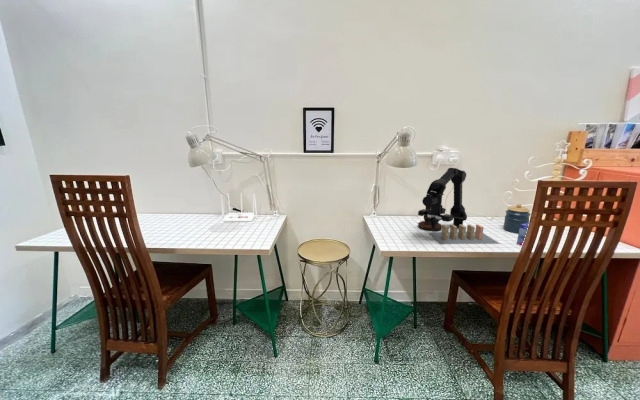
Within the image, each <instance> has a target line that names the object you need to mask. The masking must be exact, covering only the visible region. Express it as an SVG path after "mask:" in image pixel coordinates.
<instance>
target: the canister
mask: <svg viewBox="0 0 640 400" xmlns="http://www.w3.org/2000/svg"><path fill="white" fill-rule="evenodd" d="M505 213H506V214H505V215H504V222H503V225H502V227H503V230H505V231H507V232H509V233H514V234H519V229H520V225H521V224H524V223H529V222H530V220H529V219H530V216H531V215H532V214H531V213H530V209H528V207H525V206H522V204H520V203H517V204H516V205H511V206H509V207H507V210H505Z"/></svg>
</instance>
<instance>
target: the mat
mask: <svg viewBox="0 0 640 400" xmlns="http://www.w3.org/2000/svg"><path fill="white" fill-rule="evenodd" d="M441 232H442V231H441ZM441 232H440V231H436V232H434V231H431V232H430V231H429V232H428V231H427V232H426V233H427V234H428V235H429V236H431V238H432V239H434V240H435V241H436V243H438V244H439V245H501V243H500V242H499V241H497V240H496V239H493V238H492V237H490V236H489V235H487V234H485V233H483V236H482V240H478V239H477V238H475V231H474V238H473V240H470V239H468V238H467V237H466V233H467V231H466V233H465V240H461V239H460V238H458V231H457V236H456V240H452V239H451V238H450V237H449V236H450V231H448V239H447V240H444V239H443V238H441Z"/></svg>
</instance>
